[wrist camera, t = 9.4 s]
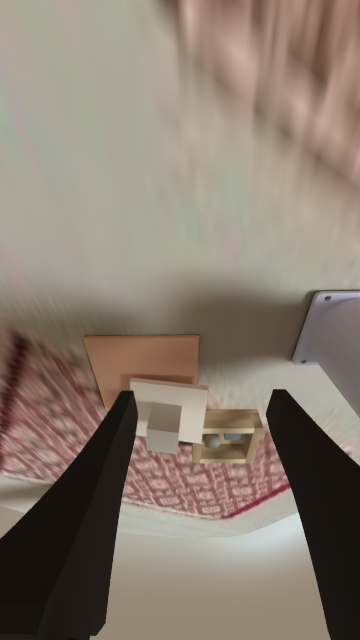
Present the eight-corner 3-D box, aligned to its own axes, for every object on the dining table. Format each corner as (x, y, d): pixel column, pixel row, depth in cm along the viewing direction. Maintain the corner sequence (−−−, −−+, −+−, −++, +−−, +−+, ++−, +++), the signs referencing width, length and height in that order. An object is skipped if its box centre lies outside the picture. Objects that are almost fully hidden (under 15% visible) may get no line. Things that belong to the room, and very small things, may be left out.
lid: (208, 380, 23) (208, 417, 19) (201, 432, 26) (200, 473, 22) (133, 372, 23) (118, 405, 19) (136, 424, 27) (123, 462, 23)
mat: (198, 334, 21) (199, 337, 20) (196, 407, 27) (196, 410, 26) (84, 336, 21) (83, 338, 21) (107, 408, 27) (106, 410, 26)
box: (257, 409, 27) (263, 428, 25) (247, 444, 31) (252, 463, 29) (192, 410, 27) (193, 428, 25) (191, 444, 31) (192, 463, 29)
